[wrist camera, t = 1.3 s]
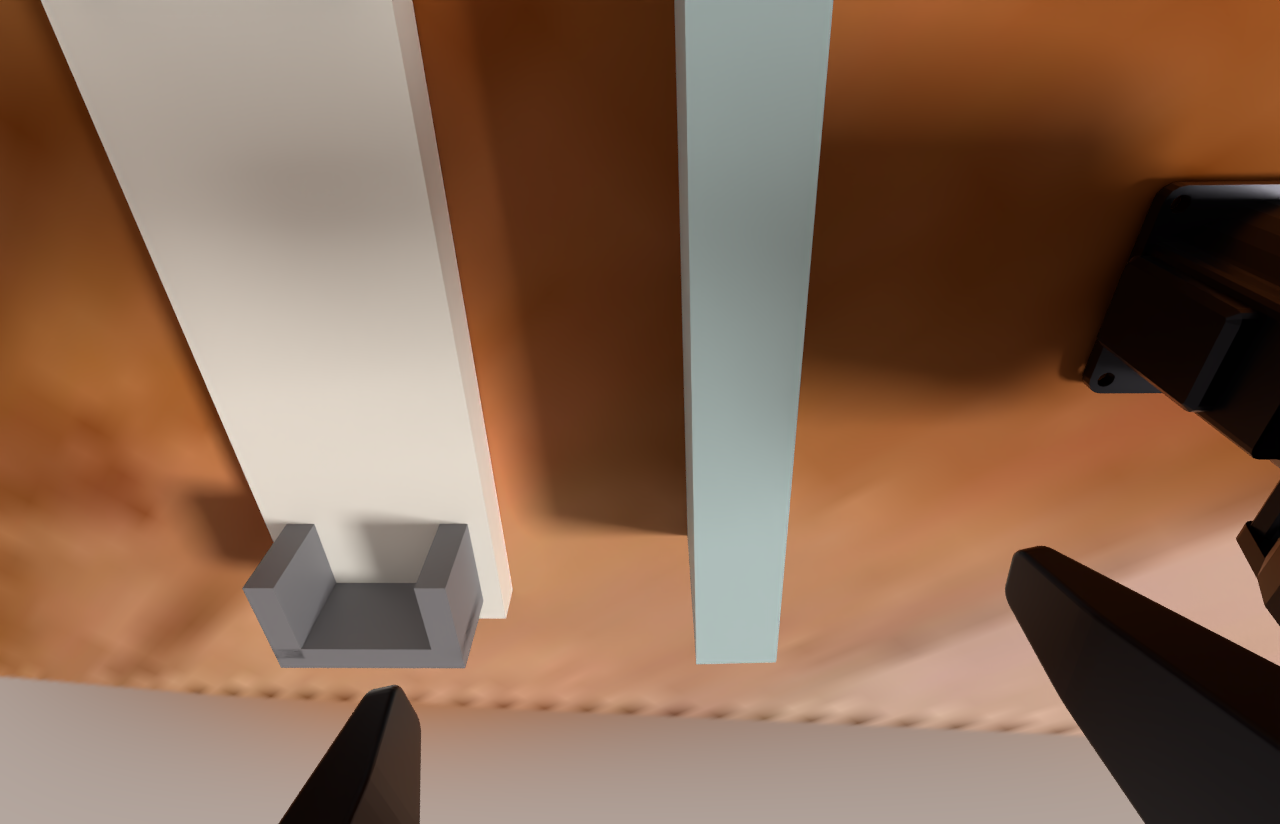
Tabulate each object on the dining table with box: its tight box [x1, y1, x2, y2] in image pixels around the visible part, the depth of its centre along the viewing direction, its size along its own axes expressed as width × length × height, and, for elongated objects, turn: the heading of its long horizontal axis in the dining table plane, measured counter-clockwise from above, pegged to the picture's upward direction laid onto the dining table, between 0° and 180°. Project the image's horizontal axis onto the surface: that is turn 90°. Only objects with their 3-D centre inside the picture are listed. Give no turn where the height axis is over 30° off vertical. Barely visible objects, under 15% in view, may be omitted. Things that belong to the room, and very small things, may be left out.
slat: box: [674, 0, 833, 664], centre depth 18 cm, size 2×20×6 cm, turn 3°
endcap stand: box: [41, 0, 513, 668], centre depth 18 cm, size 8×26×4 cm, turn 1°
